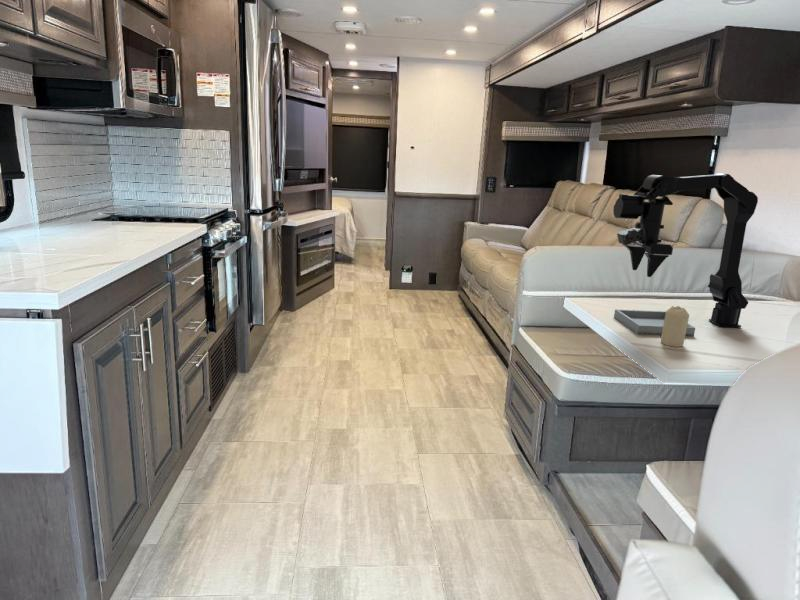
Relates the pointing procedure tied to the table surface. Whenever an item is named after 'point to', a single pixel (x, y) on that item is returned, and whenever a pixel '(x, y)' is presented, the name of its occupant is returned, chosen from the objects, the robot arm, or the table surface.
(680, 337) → the candle
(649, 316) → the tray
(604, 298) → the table surface
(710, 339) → the table surface
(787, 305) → the table surface
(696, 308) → the table surface
